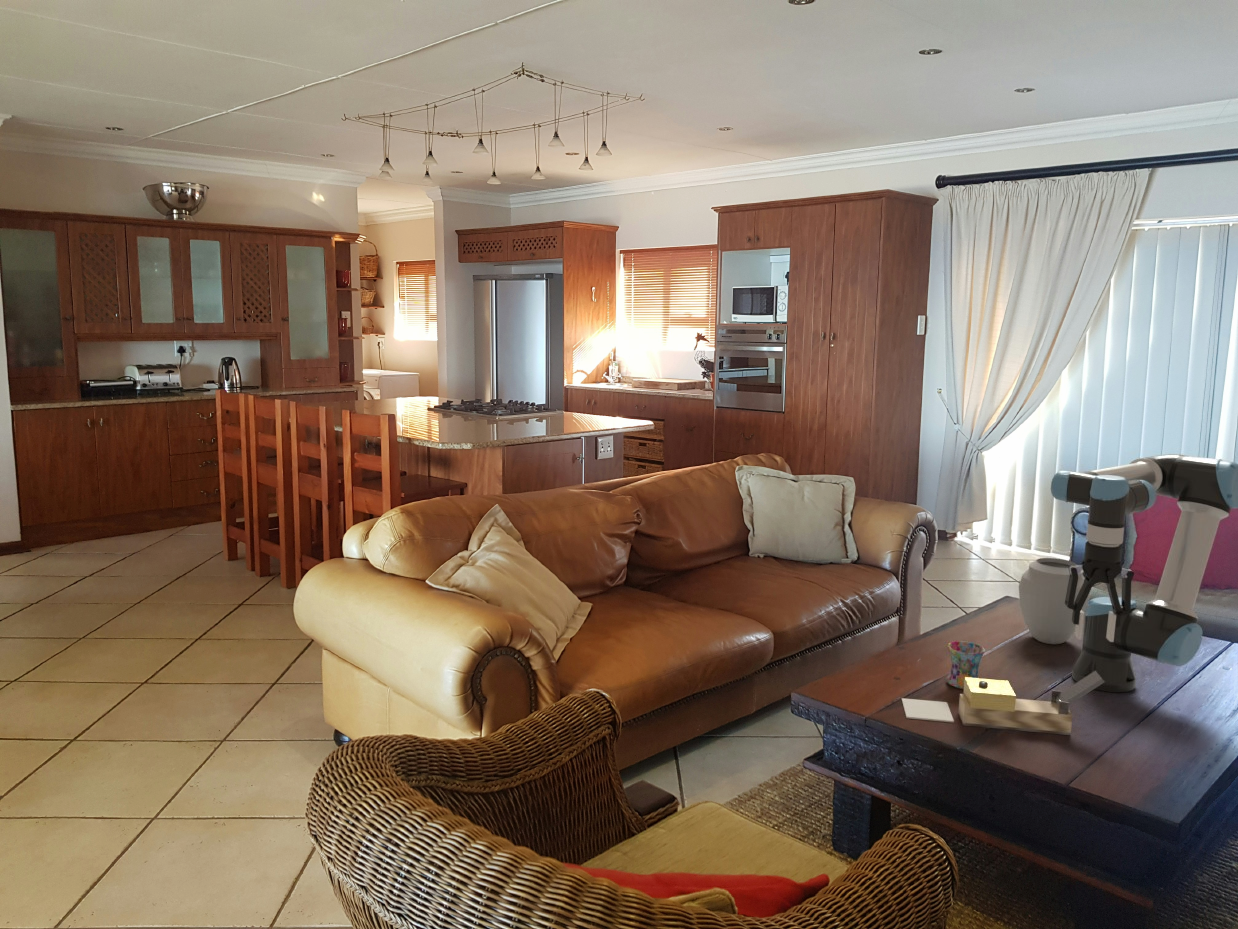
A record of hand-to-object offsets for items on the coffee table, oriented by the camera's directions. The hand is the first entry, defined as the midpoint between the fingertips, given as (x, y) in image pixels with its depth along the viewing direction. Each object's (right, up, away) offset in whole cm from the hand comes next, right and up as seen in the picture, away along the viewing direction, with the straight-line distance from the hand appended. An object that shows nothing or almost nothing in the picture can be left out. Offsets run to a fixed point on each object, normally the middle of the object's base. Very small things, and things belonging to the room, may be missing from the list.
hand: (1093, 638), depth 214 cm
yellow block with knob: (-22, -17, +7) cm, 28 cm away
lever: (-6, -16, +4) cm, 17 cm away
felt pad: (-35, -20, +13) cm, 42 cm away
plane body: (-16, -22, +7) cm, 28 cm away
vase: (+20, -13, +64) cm, 69 cm away
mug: (-19, -18, +30) cm, 40 cm away
